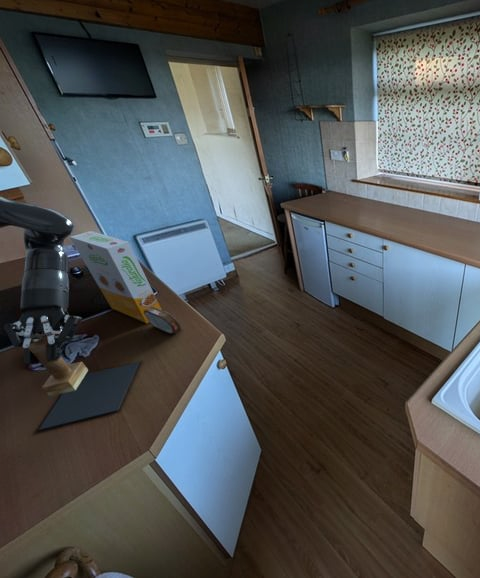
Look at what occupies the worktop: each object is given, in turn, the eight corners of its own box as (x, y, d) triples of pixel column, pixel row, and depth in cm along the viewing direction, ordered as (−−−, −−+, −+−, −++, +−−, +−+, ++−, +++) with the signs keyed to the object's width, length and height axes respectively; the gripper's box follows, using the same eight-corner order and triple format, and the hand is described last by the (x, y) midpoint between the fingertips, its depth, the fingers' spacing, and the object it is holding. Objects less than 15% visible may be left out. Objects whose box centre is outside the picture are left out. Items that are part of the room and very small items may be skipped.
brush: (49, 396, 70) (13, 356, 63) (64, 375, 76) (32, 336, 69) (75, 390, 72) (43, 351, 65) (88, 370, 77) (59, 331, 70)
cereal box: (163, 314, 113) (129, 241, 97) (146, 323, 108) (107, 248, 92) (128, 300, 120) (91, 230, 105) (111, 308, 116) (69, 236, 100)
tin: (184, 332, 104) (175, 313, 99) (175, 338, 101) (166, 319, 97) (157, 321, 109) (148, 302, 104) (148, 326, 106) (138, 307, 102)
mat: (39, 430, 72) (38, 429, 72) (74, 377, 86) (74, 376, 86) (118, 411, 77) (117, 410, 77) (139, 363, 91) (138, 362, 91)
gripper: (-8, 291, 65) (-15, 369, 62) (68, 283, 69) (66, 356, 65) (24, 298, 73) (20, 368, 69) (92, 290, 76) (91, 357, 72)
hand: (42, 362), depth 67 cm, fingers closed on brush, 3 cm apart
